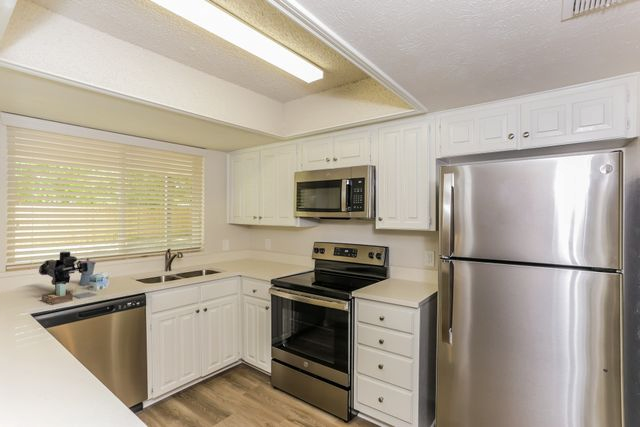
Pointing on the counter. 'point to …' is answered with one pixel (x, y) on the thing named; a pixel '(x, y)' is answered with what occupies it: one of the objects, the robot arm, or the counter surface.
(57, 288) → the grey-green rectangular block
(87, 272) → the moka pot
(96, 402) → the counter surface
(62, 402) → the counter surface
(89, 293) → the mat
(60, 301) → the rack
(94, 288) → the light bulb box
